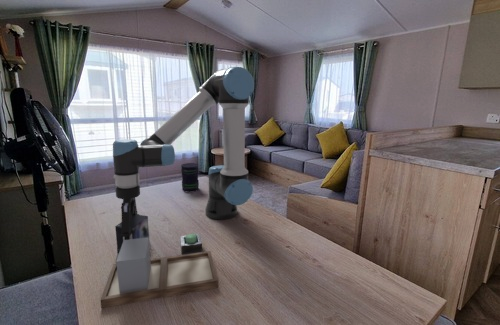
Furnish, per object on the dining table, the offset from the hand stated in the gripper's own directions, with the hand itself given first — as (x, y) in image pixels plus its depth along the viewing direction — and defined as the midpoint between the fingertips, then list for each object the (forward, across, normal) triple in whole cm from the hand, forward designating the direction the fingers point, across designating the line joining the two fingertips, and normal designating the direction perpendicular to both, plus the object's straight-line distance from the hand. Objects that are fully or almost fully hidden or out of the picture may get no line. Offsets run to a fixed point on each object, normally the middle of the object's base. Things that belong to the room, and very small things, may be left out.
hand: (131, 242), depth 94 cm
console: (+1, +7, +21) cm, 22 cm away
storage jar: (+1, -60, +25) cm, 65 cm away
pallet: (+2, +21, +12) cm, 24 cm away
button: (0, +7, +21) cm, 22 cm away
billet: (+1, +21, +4) cm, 21 cm away
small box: (+2, 0, +1) cm, 2 cm away
